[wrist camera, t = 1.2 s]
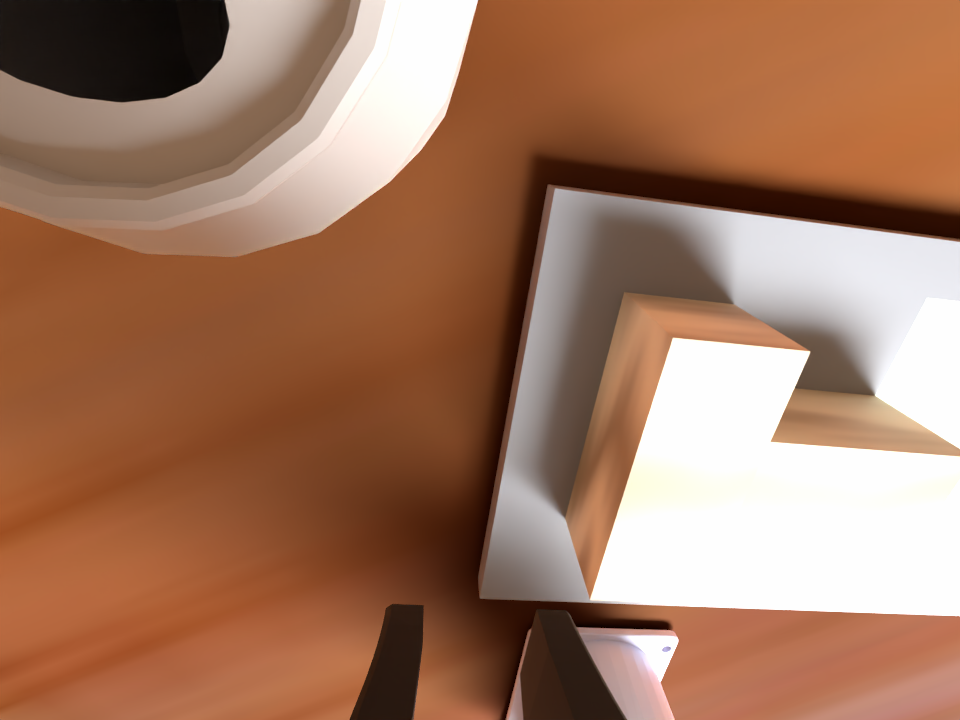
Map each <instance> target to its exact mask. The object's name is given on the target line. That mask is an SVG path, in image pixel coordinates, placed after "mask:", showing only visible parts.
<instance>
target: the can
mask: <svg viewBox="0 0 960 720" xmlns="http://www.w3.org/2000/svg"><path fill="white" fill-rule="evenodd" d="M477 2H478V0H0V207H2V208H6V209H9V210H12V211H15V212H18V213H21V214H24V215H27V216H31V217H34V218H37V219H40V220H42V221H44V222H46V223H49V224H52V225H55V226H58V227H61V228H65V229H68V230H71V231H74V232H77V233H80V234H83V235H86V236H90V237H93V238H96V239H99V240H102V241H105V242H108V243H112V244H115V245H118V246H121V247H124V248H127V249H130V250H133V251H137V252H140V253H143V254H162V255H191V256H220V257H238V256H242V255H245V254H248V253H252V252H255V251H259V250H262V249H266V248H269V247H273V246H276V245H279V244H283V243H286V242H290V241H293V240H297V239H300V238H303V237H307V236H310V235H314V234H317V233H320V232H321V231H322V230H324V229H325V228H327V227H328V226H329V225H331V224H332V223H334V222H335V221H336V220H338V219H339V218H340V217H342V216H343V215H345V214H346V213H347V212H349V211H350V210H351V209H353V208H354V207H356V206H357V205H358V204H360V203H361V202H362V201H364V200H365V199H367V198H368V197H369V196H371V195H372V194H374V193H375V192H376V191H378V190H379V189H380V188H382V187H383V186H385V185H386V184H387V183H389V182H390V181H391V180H392V179H393V178H394V177H395V176H396V175H397V174H398V173H399V172H400V171H401V170H402V169H403V168H404V167H405V166H406V165H407V164H408V163H409V162H410V161H411V160H412V159H413V158H414V157H415V156H416V155H417V154H418V152H419V151H420V150H421V149H422V148H423V147H424V145H425V144H426V142H427V141H428V139H429V138H430V137H431V135H432V134H433V132H434V131H435V129H436V128H437V127H438V125H439V124H440V122H441V121H442V119H443V118H444V117H445V114H446V111H447V108H448V105H449V102H450V99H451V96H452V92H453V89H454V86H455V83H456V80H457V77H458V74H459V70H460V66H461V62H462V59H463V55H464V51H465V47H466V44H467V40H468V36H469V32H470V28H471V25H472V21H473V17H474V13H475V10H476V6H477Z"/></svg>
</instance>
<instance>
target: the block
mask: <svg viewBox="0 0 960 720" xmlns="http://www.w3.org/2000/svg"><path fill="white" fill-rule="evenodd" d="M810 352H811V351H809V350H807V349H806V348H804V347H802V346H801V345H799V344H798V343H796V342H794V341H793V340H791V339H790V338H788V337H786V336H785V335H783V334H781V333H780V332H778V331H777V330H775V329H773V328H772V327H770V326H768V325H767V324H765V323H764V322H762V321H760V320H759V319H757V318H755V317H754V316H752V315H751V314H749V313H747V312H746V311H744V310H743V309H741V308H739V307H738V306H736V305H734V304H727V303H718V302H709V301H699V300H690V299H681V298H672V297H663V296H654V295H645V294H636V293H627V292H624V295H623V298H622V302H621V306H620V310H619V314H618V318H617V321H616V325H615V329H614V333H613V337H612V341H611V344H610V348H609V352H608V356H607V360H606V364H605V367H604V371H603V375H602V379H601V383H600V387H599V390H598V394H597V398H596V402H595V406H594V410H593V413H592V417H591V421H590V425H589V429H588V432H587V436H586V440H585V444H584V448H583V452H582V455H581V459H580V463H579V467H578V471H577V475H576V478H575V482H574V486H573V490H572V494H571V498H570V501H569V505H568V509H567V513H566V517H565V520H566V523H567V527H568V530H569V533H570V536H571V540H572V543H573V546H574V549H575V553H576V556H577V559H578V563H579V566H580V569H581V572H582V576H583V579H584V582H585V585H586V589H587V592H588V595H589V598H590V600H599V601H626V602H654V603H681V604H698V602H699V600H700V597H701V595H702V593H703V591H704V588H705V586H706V584H707V582H708V579H709V577H710V575H711V573H712V570H713V568H714V566H715V564H716V562H717V559H718V557H719V555H720V553H721V550H722V548H723V546H724V544H725V542H742V543H761V544H780V545H799V546H818V547H838V548H857V549H876V550H895V551H913V550H914V548H915V547H916V545H917V544H918V542H919V541H920V539H921V538H922V536H923V535H924V533H925V532H926V530H927V528H928V527H929V525H930V524H931V522H932V521H933V519H934V518H935V516H936V515H937V513H938V512H939V510H940V509H941V507H942V506H943V504H944V503H945V501H946V500H947V498H948V497H949V495H950V494H951V492H952V491H953V489H954V488H955V486H956V485H957V483H958V482H959V480H960V448H958V447H956V446H955V445H953V444H952V443H950V442H948V441H947V440H945V439H944V438H942V437H940V436H939V435H937V434H936V433H934V432H932V431H931V430H929V429H928V428H926V427H924V426H923V425H921V424H920V423H918V422H916V421H915V420H913V419H912V418H910V417H908V416H907V415H905V414H904V413H902V412H901V411H899V410H897V409H896V408H894V407H893V406H891V405H889V404H888V403H886V402H885V401H883V400H881V399H880V398H878V397H877V396H873V395H862V394H851V393H840V392H829V391H818V390H807V389H796V388H794V387H795V385H796V383H797V381H798V379H799V376H800V374H801V372H802V370H803V367H804V365H805V363H806V361H807V358H808V356H809V354H810Z"/></svg>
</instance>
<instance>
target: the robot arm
mask: <svg viewBox="0 0 960 720" xmlns="http://www.w3.org/2000/svg"><path fill="white" fill-rule="evenodd" d="M677 643H678V638H677V636H676V634H675V632H674V631H671V630H650V629H617V628H584V627H576V626H575V624H574V622H573V620H572V618H571V616H570V614H569V613H568V612H567V611H566V610H546V609H536V613H535V617H534V621H533V625H532V628H531V629H530V630H529V631H528V633H527V637H526V641H525V645H524V649H523V653H522V657H521V661H520V665H519V669H518V673H517V677H516V681H515V685H514V689H513V693H512V697H511V701H510V705H509V709H508V713H507V717H506V720H675V719H674V717H673V714H672V711H671V709H670V706H669V704H668V701H667V698H666V696H665V693H664V691H663V688H662V686H661V683H660V681H661V679H662V677H663V675H664V672H665V670H666V668H667V666H668V663H669V661H670V659H671V657H672V654H673V652H674V650H675V648H676V645H677ZM422 645H423V605H399V604H392V605H390V606H389V607H387V608H386V611H385V617H384V622H383V626H382V630H381V634H380V637H379V641H378V644H377V648H376V651H375V654H374V657H373V660H372V663H371V666H370V668H369V671H368V674H367V677H366V680H365V682H364V685H363V687H362V690H361V692H360V695H359V697H358V700H357V702H356V705H355V707H354V710H353V712H352V715H351V717H350V720H413V719H414V711H415V703H416V695H417V686H418V678H419V670H420V662H421V654H422Z"/></svg>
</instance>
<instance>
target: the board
mask: <svg viewBox="0 0 960 720" xmlns="http://www.w3.org/2000/svg"><path fill="white" fill-rule="evenodd" d="M624 292H627V293H636V294H645V295H654V296H663V297H672V298H681V299H690V300H699V301H709V302H718V303H727V304H734V305H736V306H738V307H739V308H741V309H743V310H744V311H746V312H747V313H749V314H751V315H752V316H754V317H755V318H757V319H759V320H760V321H762V322H764V323H765V324H767V325H768V326H770V327H772V328H773V329H775V330H777V331H778V332H780V333H781V334H783V335H785V336H786V337H788V338H790V339H791V340H793V341H794V342H796V343H798V344H799V345H801V346H802V347H804V348H806V349H807V350H809V351H811V352H810V354H809V356H808V358H807V361H806V363H805V365H804V367H803V370H802V372H801V374H800V376H799V379H798V381H797V383H796V385H795V387H794V388H796V389H807V390H818V391H829V392H840V393H851V394H862V395H873V396H877V397H878V398H880V399H881V400H883V401H885V402H886V403H888V404H889V405H891V406H893V407H894V408H896V409H897V410H899V411H901V412H902V413H904V414H905V415H907V416H908V417H910V418H912V419H913V420H915V421H916V422H918V423H920V424H921V425H923V426H924V427H926V428H928V429H929V430H931V431H932V432H934V433H936V434H937V435H939V436H940V437H942V438H944V439H945V440H947V441H948V442H950V443H952V444H953V445H955V446H956V447H958V448H960V239H955V238H948V237H940V236H933V235H925V234H918V233H910V232H903V231H895V230H888V229H880V228H873V227H865V226H858V225H850V224H843V223H835V222H828V221H820V220H812V219H805V218H797V217H790V216H782V215H775V214H767V213H760V212H752V211H745V210H737V209H730V208H722V207H715V206H707V205H700V204H692V203H685V202H677V201H670V200H662V199H655V198H647V197H640V196H632V195H625V194H617V193H610V192H602V191H595V190H587V189H580V188H572V187H565V186H557V185H549V184H548V186H547V191H546V197H545V202H544V208H543V214H542V219H541V225H540V231H539V236H538V242H537V248H536V253H535V259H534V265H533V270H532V276H531V281H530V287H529V293H528V298H527V304H526V310H525V315H524V321H523V327H522V332H521V338H520V343H519V349H518V355H517V360H516V366H515V372H514V377H513V383H512V389H511V394H510V400H509V405H508V411H507V417H506V422H505V428H504V434H503V439H502V445H501V451H500V456H499V462H498V468H497V473H496V479H495V484H494V490H493V496H492V501H491V507H490V513H489V518H488V524H487V530H486V535H485V541H484V546H483V552H482V558H481V563H480V569H479V575H478V583H479V597H480V599H501V600H529V601H557V602H585V603H612V604H640V605H668V606H696V607H723V608H751V609H779V610H807V611H834V612H862V613H890V614H918V615H945V616H960V480H959V482H958V483H957V485H956V486H955V488H954V489H953V491H952V492H951V494H950V495H949V497H948V498H947V500H946V501H945V503H944V504H943V506H942V507H941V509H940V510H939V512H938V513H937V515H936V516H935V518H934V519H933V521H932V522H931V524H930V525H929V527H928V528H927V530H926V532H925V533H924V535H923V536H922V538H921V539H920V541H919V542H918V544H917V545H916V547H915V548H914V550H913V551H895V550H876V549H857V548H838V547H818V546H799V545H780V544H761V543H742V542H725V544H724V546H723V548H722V550H721V553H720V555H719V557H718V559H717V562H716V564H715V566H714V568H713V570H712V573H711V575H710V577H709V579H708V582H707V584H706V586H705V588H704V591H703V593H702V595H701V597H700V600H699V602H698V604H681V603H654V602H626V601H599V600H590V598H589V595H588V592H587V589H586V585H585V582H584V579H583V576H582V572H581V569H580V566H579V563H578V559H577V556H576V553H575V549H574V546H573V543H572V540H571V536H570V533H569V530H568V527H567V523H566V520H565V517H566V513H567V509H568V505H569V501H570V498H571V494H572V490H573V486H574V482H575V478H576V475H577V471H578V467H579V463H580V459H581V455H582V452H583V448H584V444H585V440H586V436H587V432H588V429H589V425H590V421H591V417H592V413H593V410H594V406H595V402H596V398H597V394H598V390H599V387H600V383H601V379H602V375H603V371H604V367H605V364H606V360H607V356H608V352H609V348H610V344H611V341H612V337H613V333H614V329H615V325H616V321H617V318H618V314H619V310H620V306H621V302H622V298H623V295H624Z"/></svg>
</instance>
